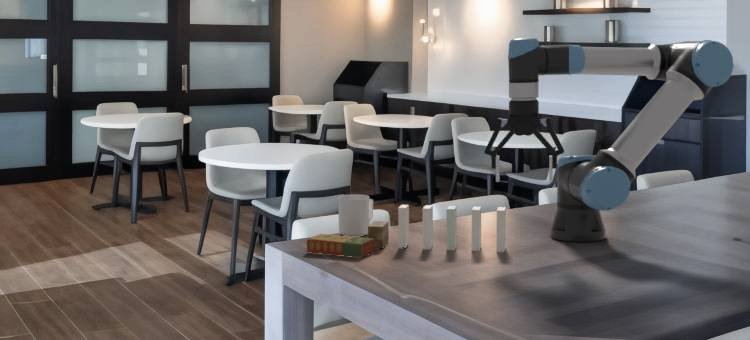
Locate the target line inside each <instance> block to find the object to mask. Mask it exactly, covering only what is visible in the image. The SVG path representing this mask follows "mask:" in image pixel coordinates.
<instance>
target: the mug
mask: <svg viewBox="0 0 750 340" xmlns="http://www.w3.org/2000/svg"><path fill="white" fill-rule="evenodd" d="M337 200H338V201H337V202H338V204H337V205H338V208H337V209H338V233H339V234H340V235H341V234H342V235H349V236H361V235H366V234H367V235H368V226H369V225H370V224H371V223H370V222H371V220H372V219H373V216H374V199H372V198H370V196H369V195H367V194H358V193H357V194H356V193H355V194H343V195H340V196H338V198H337ZM342 235H341V236H342ZM367 235H366V236H367Z"/></svg>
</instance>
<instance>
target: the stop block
mask: <svg viewBox="0 0 750 340" xmlns="http://www.w3.org/2000/svg"><path fill="white" fill-rule="evenodd" d="M389 237H390V236H389V221H387V220H373V221H372V222H371V223H370V225H369V226H368V234H367V238H373V239H374V241H375V248H383V247H384V246H385V245H386V244H387V243H388V241H389ZM389 242H390V241H389ZM388 244H389V243H388ZM388 244H387V245H388ZM387 245H386V246H387ZM386 246H385V247H386ZM385 247H384V248H385ZM384 248H383V249H384Z"/></svg>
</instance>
